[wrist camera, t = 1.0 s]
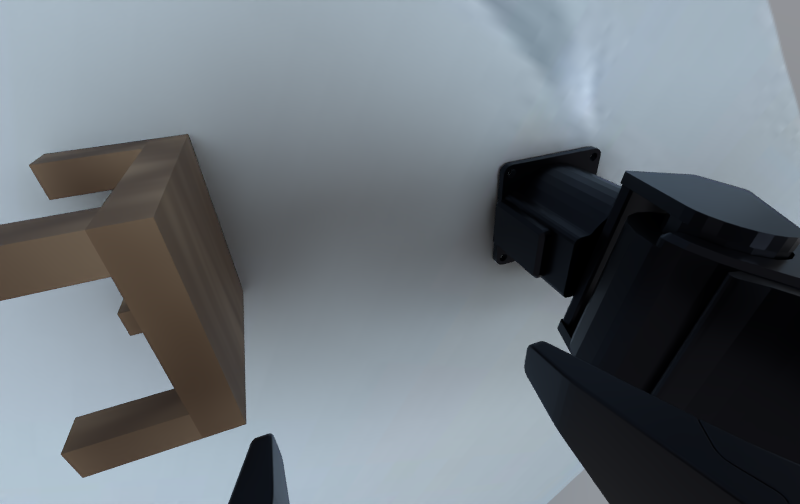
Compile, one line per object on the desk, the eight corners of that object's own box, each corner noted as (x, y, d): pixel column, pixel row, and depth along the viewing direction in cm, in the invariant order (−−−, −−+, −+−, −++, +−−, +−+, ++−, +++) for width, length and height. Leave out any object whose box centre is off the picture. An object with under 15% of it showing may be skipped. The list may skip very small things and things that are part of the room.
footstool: (188, 134, 15) (153, 216, 9) (243, 291, 20) (246, 424, 13) (44, 154, 14) (-116, 267, 8) (136, 317, 19) (82, 477, 12)
